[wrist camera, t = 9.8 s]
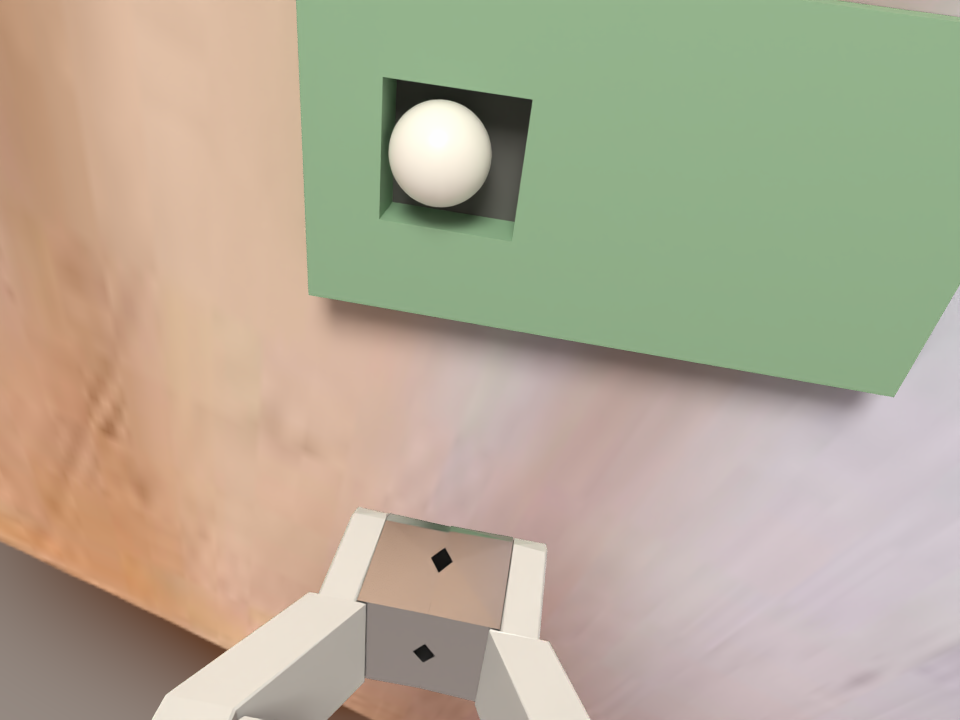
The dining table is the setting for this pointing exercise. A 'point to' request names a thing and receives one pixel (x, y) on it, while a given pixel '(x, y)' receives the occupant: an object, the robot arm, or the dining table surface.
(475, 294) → the green board
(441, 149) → the ball
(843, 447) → the dining table surface
